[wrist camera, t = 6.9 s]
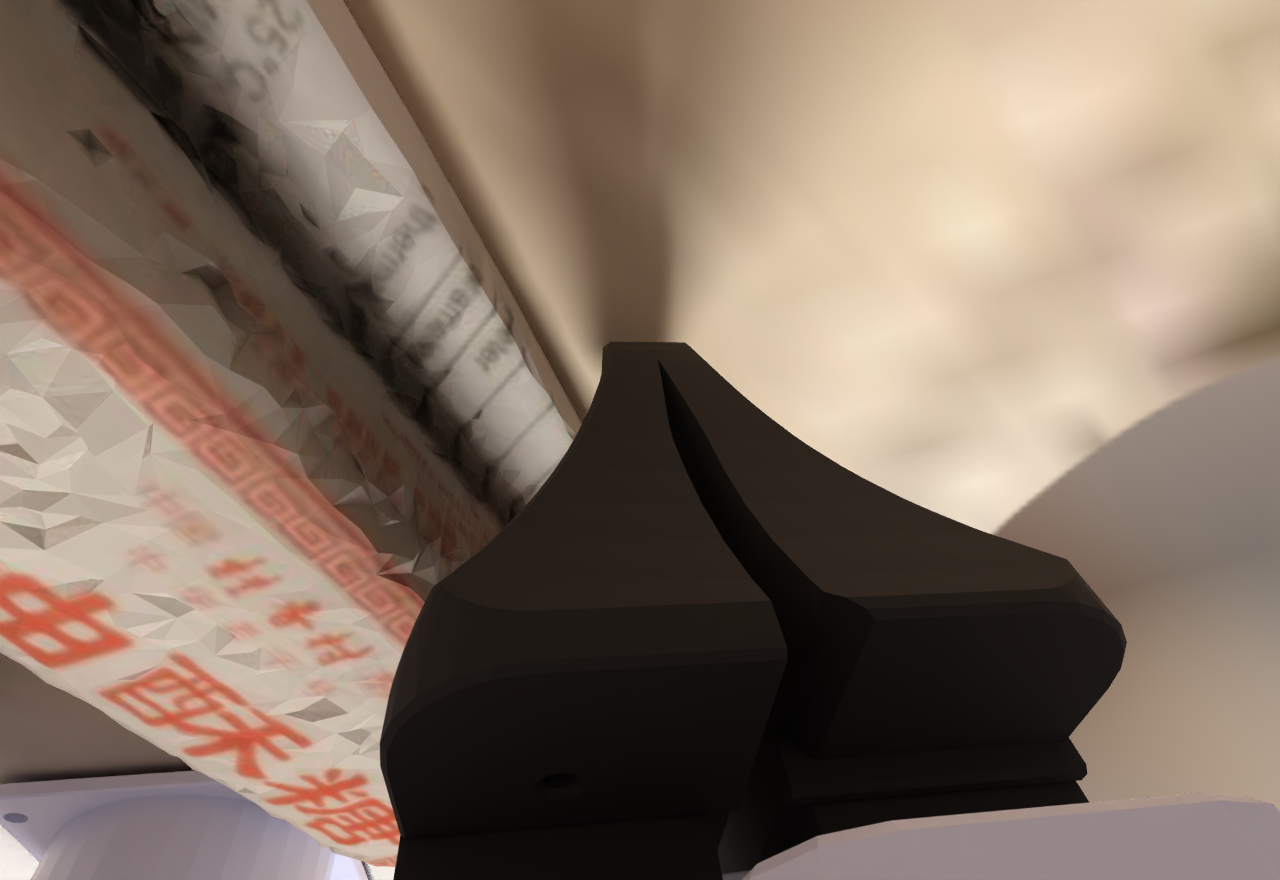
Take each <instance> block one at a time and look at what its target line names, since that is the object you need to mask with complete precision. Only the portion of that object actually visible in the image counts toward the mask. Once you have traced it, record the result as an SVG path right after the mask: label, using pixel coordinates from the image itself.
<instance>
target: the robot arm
mask: <svg viewBox="0 0 1280 880" xmlns="http://www.w3.org/2000/svg"><path fill="white" fill-rule="evenodd" d="M1126 643H1127V642H1126V638H1125V635H1124V632H1123V629H1122V626H1121V624H1120V623H1119V622H1118V620H1117V619H1116V618H1115V617H1114V615H1113V614H1112V613H1111V612H1110V611H1109V609H1108V608H1107V607H1106V606H1105V605H1104V603H1102V601H1101V600H1100V599H1099V597H1098V596H1097V595H1096V594H1095V593H1094V592H1093V590H1092V589H1091V588H1090V587H1089V585H1087V583H1086V582H1085V581H1084V580H1083V578H1082V577H1081V576H1080V575H1079V573H1078V572H1077V571H1076V570H1075V568H1074V567H1073V566H1072V565H1071V564H1070V562H1069V561H1068V560H1066V559H1064V558H1061V557H1058V556H1055V555H1052V554H1049V553H1046V552H1043V551H1040V550H1037V549H1034V548H1031V547H1028V546H1025V545H1022V544H1019V543H1015V542H1013V541H1010V540H1007V539H1004V538H1001V537H998V536H994V535H992V534H989V533H986V532H983V531H980V530H977V529H975V528H972V527H970V526H967V525H965V524H962V523H960V522H957V521H955V520H952V519H950V518H947V517H945V516H942V515H940V514H938V513H935V512H933V511H930V510H928V509H926V508H923V507H921V506H919V505H917V504H915V503H912V502H910V501H908V500H906V499H903V498H901V497H899V496H897V495H895V494H893V493H891V492H889V491H887V490H885V489H883V488H881V487H879V486H877V485H875V484H874V483H872V482H870V481H868V480H866V479H864V478H862V477H860V476H858V475H856V474H855V473H853V472H851V471H849V470H847V469H846V468H844V467H842V466H840V465H839V464H837V463H836V462H834V461H832V460H831V459H829V458H828V457H826V456H824V455H823V454H821V453H820V452H818V451H816V450H815V449H813V448H812V447H810V446H808V445H807V444H805V443H804V442H802V441H801V440H800V439H798V438H797V437H795V436H794V435H792V434H791V433H790V432H788V431H787V430H786V429H784V428H783V427H782V426H780V425H779V424H778V423H776V422H775V421H774V420H772V419H771V418H770V417H769V416H767V415H766V414H765V413H763V412H762V411H761V410H760V409H759V408H757V407H756V406H755V405H754V404H752V403H751V402H750V401H749V400H748V399H747V398H745V397H744V396H743V395H742V394H741V393H740V392H739V391H737V390H736V389H735V388H734V387H733V386H732V385H731V384H730V383H728V382H727V381H726V380H725V379H724V378H723V377H722V376H721V375H720V374H719V373H718V372H716V371H715V370H714V369H713V368H712V367H711V366H710V365H709V364H708V363H707V362H706V361H705V360H704V359H703V358H702V357H700V356H699V355H698V354H697V353H696V352H695V351H694V350H693V349H692V348H691V347H690V346H688V345H687V344H686V343H676V342H610V343H608V344H607V345H606V346H605V347H604V348H603V358H602V375H601V379H600V382H599V385H598V388H597V390H596V393H595V396H594V399H593V401H592V404H591V406H590V409H589V411H588V413H587V415H586V417H585V419H584V421H583V423H582V425H581V427H580V429H579V431H578V433H577V435H576V437H575V438H574V440H573V442H572V444H571V445H570V447H569V449H568V450H567V452H566V453H565V455H564V456H563V458H562V459H561V461H560V462H559V464H558V465H557V467H556V468H555V470H554V471H553V473H552V474H551V475H550V476H549V478H548V479H547V480H546V481H545V483H544V484H543V485H542V487H541V488H540V489H539V490H538V492H537V493H536V494H535V495H534V497H533V498H532V499H531V500H530V501H529V502H528V504H527V505H526V506H525V507H524V508H523V509H522V510H521V511H520V512H519V513H518V514H517V515H516V516H515V517H514V518H513V519H512V520H511V521H510V522H509V523H508V524H507V525H506V526H505V527H504V528H503V529H502V530H501V531H500V532H499V533H498V534H497V535H496V536H495V537H494V538H493V539H492V540H491V541H490V542H489V543H487V544H486V545H485V546H484V547H483V548H482V549H481V550H480V551H478V552H477V553H476V554H474V555H473V556H472V557H471V558H469V559H468V560H467V561H466V562H464V563H463V564H462V565H461V566H459V567H458V568H457V569H455V570H454V571H453V572H452V573H450V574H449V575H448V576H447V577H445V578H444V579H443V580H441V581H440V582H439V583H437V584H436V585H434V586H433V587H432V589H431V591H430V593H429V595H428V597H427V599H426V601H425V603H424V605H423V607H422V609H421V611H420V613H419V616H418V618H417V620H416V622H415V624H414V626H413V629H412V631H411V633H410V636H409V638H408V640H407V643H406V645H405V648H404V650H403V653H402V656H401V659H400V661H399V664H398V667H397V670H396V673H395V676H394V679H393V682H392V686H391V690H390V694H389V698H388V703H387V708H386V713H385V718H384V723H383V728H382V734H381V739H380V767H381V771H382V774H383V777H384V781H385V784H386V788H387V791H388V795H389V798H390V802H391V805H392V808H393V812H394V815H395V819H396V822H397V826H398V829H399V832H400V841H399V847H398V854H397V860H396V867H395V873H394V880H1280V811H1279V810H1278V809H1277V808H1276V807H1275V805H1274V804H1271V803H1268V802H1265V801H1261V800H1258V799H1255V798H1251V797H1248V796H1239V795H1224V794H1210V793H1190V794H1179V795H1168V796H1157V797H1146V798H1135V799H1124V800H1113V801H1103V802H1092V803H1089V801H1088V800H1087V798H1086V797H1085V795H1084V793H1083V792H1082V790H1081V788H1080V787H1079V785H1078V784H1077V782H1076V781H1077V780H1082V779H1083V778H1084V777H1085V776H1086V775H1087V768H1086V763H1085V762H1084V760H1083V759H1082V757H1081V756H1080V754H1079V753H1078V751H1077V750H1076V748H1075V747H1074V745H1073V743H1072V742H1071V740H1070V739H1069V736H1070V735H1071V733H1072V732H1073V731H1074V730H1075V728H1076V727H1077V726H1078V725H1079V724H1080V722H1081V721H1082V720H1083V719H1084V717H1085V716H1086V715H1087V714H1088V712H1089V711H1090V710H1091V709H1092V708H1093V706H1094V705H1095V704H1096V703H1097V702H1098V700H1099V699H1100V698H1101V697H1102V696H1103V694H1104V693H1105V692H1106V690H1107V689H1108V688H1109V687H1110V685H1111V683H1112V682H1113V680H1114V679H1115V677H1116V675H1117V673H1118V672H1119V671H1120V669H1121V665H1122V662H1123V657H1124V653H1125V648H1126ZM0 824H1V825H2V826H3V827H4V828H5V829H6V830H7V831H8V832H9V833H10V834H11V835H12V836H13V837H14V838H15V839H16V840H17V841H18V842H19V843H20V844H21V845H22V846H23V847H24V848H26V849H27V850H28V851H29V852H30V853H31V854H32V855H33V856H34V857H35V858H36V859H37V860H38V861H39V862H40V863H39V865H38V867H37V869H36V871H35V873H34V875H33V877H32V878H31V880H368V878H367V875H366V873H365V870H364V867H363V865H362V862H361V861H360V860H357V859H353V858H349V857H346V856H342V855H338V854H335V853H332V851H331V850H330V848H329V847H328V848H322V847H321V846H320V845H319V844H318V843H317V841H316V840H314V839H313V838H312V837H310V836H309V835H307V834H306V833H304V832H302V831H300V830H298V829H296V828H294V827H292V826H291V825H290V824H289V823H288V822H287V821H284V820H282V819H280V818H276V817H273V816H271V815H269V814H268V813H267V812H266V811H265V810H264V809H262V808H261V807H260V806H259V805H257V804H256V803H254V802H253V801H251V800H249V799H248V798H246V797H244V796H242V795H241V794H239V793H237V792H235V791H234V790H232V789H230V788H228V787H227V786H225V785H223V784H221V783H220V782H218V781H216V780H214V779H212V778H210V777H208V776H206V775H204V774H203V773H200V772H198V771H195V770H193V771H179V772H164V773H150V774H136V775H122V776H107V777H93V778H79V779H64V780H50V781H36V782H21V783H7V784H2V785H0Z"/></svg>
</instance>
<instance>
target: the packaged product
mask: <svg viewBox="0 0 1280 880" xmlns="http://www.w3.org/2000/svg"><path fill="white" fill-rule="evenodd" d="M581 425H582V422H581V420H580V419H579V417H578V415H577V413H576V411H575V409H574V408H573V406H572V404H571V402H570V400H569V398H568V397H567V395H566V393H565V391H564V389H563V387H562V386H561V384H560V382H559V380H558V378H557V376H556V375H555V373H554V371H553V369H552V367H551V365H550V364H549V362H548V360H547V358H546V356H545V354H544V353H543V351H542V349H541V347H540V345H539V343H538V342H537V340H536V338H535V336H534V334H533V332H532V330H531V328H530V326H529V324H528V323H527V321H526V319H525V317H524V315H523V313H522V311H521V309H520V307H519V305H518V303H517V302H516V300H515V298H514V296H513V294H512V292H511V291H510V289H509V287H508V285H507V284H506V282H505V280H504V278H503V276H502V275H501V273H500V271H499V269H498V268H497V266H496V264H495V262H494V260H493V259H492V257H491V255H490V253H489V252H488V250H487V248H486V246H485V245H484V243H483V241H482V239H481V237H480V236H479V234H478V232H477V230H476V229H475V227H474V225H473V223H472V221H471V220H470V218H469V216H468V214H467V213H466V211H465V209H464V207H463V205H462V204H461V202H460V200H459V198H458V197H457V195H456V193H455V191H454V189H453V188H452V186H451V185H450V183H449V181H448V180H447V178H446V176H445V175H444V173H443V171H442V169H441V167H440V165H439V164H438V162H437V160H436V158H435V156H434V155H433V153H432V151H431V149H430V147H429V145H428V144H427V142H426V140H425V139H424V137H423V135H422V133H421V132H420V130H419V128H418V127H417V125H416V123H415V122H414V120H413V118H412V117H411V115H410V113H409V111H408V110H407V108H406V106H405V105H404V103H403V101H402V100H401V98H400V96H399V94H398V93H397V91H396V89H395V88H394V86H393V84H392V83H391V81H390V79H389V78H388V76H387V74H386V72H385V71H384V69H383V67H382V66H381V64H380V62H379V61H378V59H377V57H376V55H375V54H374V52H373V50H372V49H371V47H370V45H369V44H368V42H367V40H366V38H365V37H364V35H363V33H362V32H361V30H360V28H359V27H358V25H357V23H356V22H355V20H354V18H353V16H352V15H351V13H350V11H349V10H348V8H347V6H346V5H345V3H344V1H343V0H0V653H2V654H3V655H5V656H7V657H9V658H10V659H12V660H14V661H16V662H18V663H20V664H21V665H23V666H24V667H26V668H27V669H28V670H30V671H31V672H32V673H34V674H35V675H36V676H38V677H39V678H40V679H42V680H43V681H44V682H46V683H48V684H50V685H52V686H54V687H56V688H59V689H61V690H63V691H65V692H67V693H69V694H71V695H73V696H75V697H77V698H79V699H81V700H83V701H85V702H87V703H89V704H90V705H92V706H94V707H95V708H97V709H99V710H101V711H102V712H104V713H105V714H107V715H108V716H109V717H110V718H112V719H113V720H114V721H116V722H117V723H118V724H120V725H121V726H122V727H124V728H126V729H128V730H129V731H131V732H133V733H135V734H136V735H138V736H140V737H142V738H144V739H145V740H147V741H149V742H150V743H152V744H154V745H155V746H157V747H158V748H160V749H162V750H163V751H165V752H167V753H168V754H170V755H173V756H176V757H179V758H180V759H181V760H182V761H183V762H185V763H186V764H187V765H188V766H189V767H190V768H192V769H193V770H195V771H198V772H200V773H203V774H204V775H206V776H208V777H210V778H212V779H214V780H216V781H218V782H220V783H221V784H223V785H225V786H227V787H228V788H230V789H232V790H234V791H235V792H237V793H239V794H241V795H242V796H244V797H246V798H248V799H249V800H251V801H253V802H254V803H256V804H257V805H259V806H260V807H261V808H262V809H264V810H265V811H266V812H267V813H268V814H269V815H271V816H273V817H276V818H280V819H282V820H284V821H287V822H288V823H289V824H290V825H291V826H292V827H294V828H296V829H298V830H300V831H302V832H304V833H306V834H307V835H309V836H310V837H312V838H313V839H314V840H316V841H317V843H318V844H319V845H320V846H321V847H322V848H328V847H329V848H330V850H331V851H332V853H335V854H338V855H342V856H346V857H349V858H353V859H357V860H360V861H362V862H366V863H369V864H372V865H374V866H389V867H396V860H397V854H398V847H399V841H400V832H399V829H398V826H397V822H396V819H395V815H394V812H393V808H392V805H391V802H390V798H389V795H388V791H387V788H386V784H385V781H384V777H383V774H382V771H381V767H380V739H381V734H382V728H383V723H384V718H385V713H386V708H387V703H388V698H389V694H390V690H391V686H392V682H393V679H394V676H395V673H396V670H397V667H398V664H399V661H400V659H401V656H402V653H403V650H404V648H405V645H406V643H407V640H408V638H409V636H410V633H411V631H412V629H413V626H414V624H415V622H416V620H417V618H418V616H419V613H420V611H421V609H422V607H423V605H424V603H425V601H426V599H427V597H428V595H429V593H430V591H431V589H432V587H433V586H434V585H436V584H437V583H439V582H440V581H441V580H443V579H444V578H445V577H447V576H448V575H449V574H450V573H452V572H453V571H454V570H455V569H457V568H458V567H459V566H461V565H462V564H463V563H464V562H466V561H467V560H468V559H469V558H471V557H472V556H473V555H474V554H476V553H477V552H478V551H480V550H481V549H482V548H483V547H484V546H485V545H486V544H487V543H489V542H490V541H491V540H492V539H493V538H494V537H495V536H496V535H497V534H498V533H499V532H500V531H501V530H502V529H503V528H504V527H505V526H506V525H507V524H508V523H509V522H510V521H511V520H512V519H513V518H514V517H515V516H516V515H517V514H518V513H519V512H520V511H521V510H522V509H523V508H524V507H525V506H526V505H527V504H528V502H529V501H530V500H531V499H532V498H533V497H534V495H535V494H536V493H537V492H538V490H539V489H540V488H541V487H542V485H543V484H544V483H545V481H546V480H547V479H548V478H549V476H550V475H551V474H552V473H553V471H554V470H555V468H556V467H557V465H558V464H559V462H560V461H561V459H562V458H563V456H564V455H565V453H566V452H567V450H568V449H569V447H570V445H571V444H572V442H573V440H574V438H575V437H576V435H577V433H578V431H579V429H580V427H581Z"/></svg>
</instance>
